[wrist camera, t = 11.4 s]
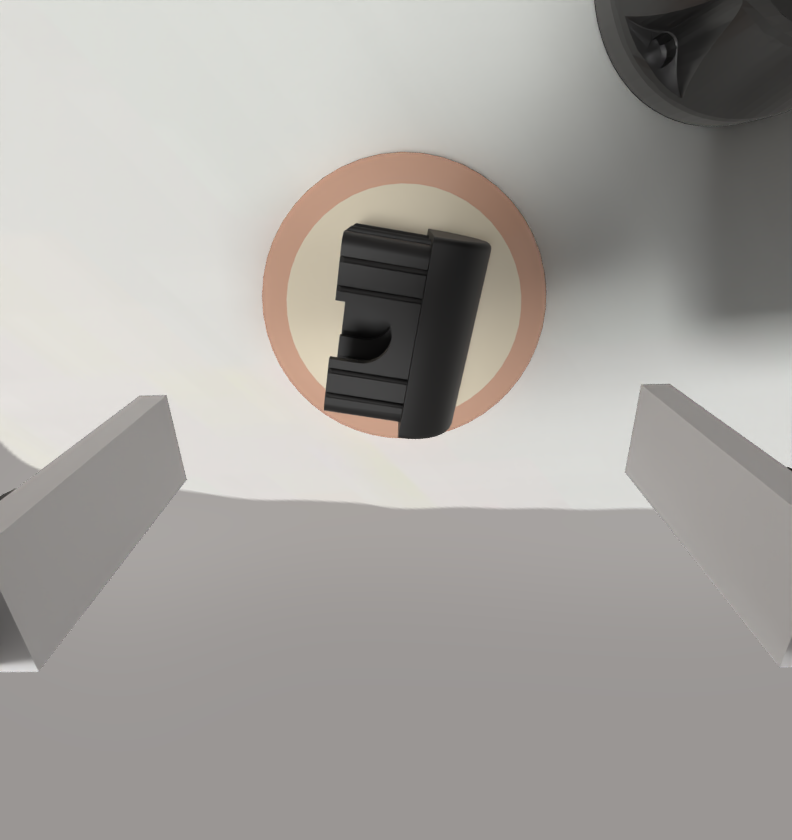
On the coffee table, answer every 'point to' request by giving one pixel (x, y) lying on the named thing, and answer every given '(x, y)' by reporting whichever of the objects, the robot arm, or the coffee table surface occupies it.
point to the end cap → (405, 325)
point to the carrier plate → (412, 212)
